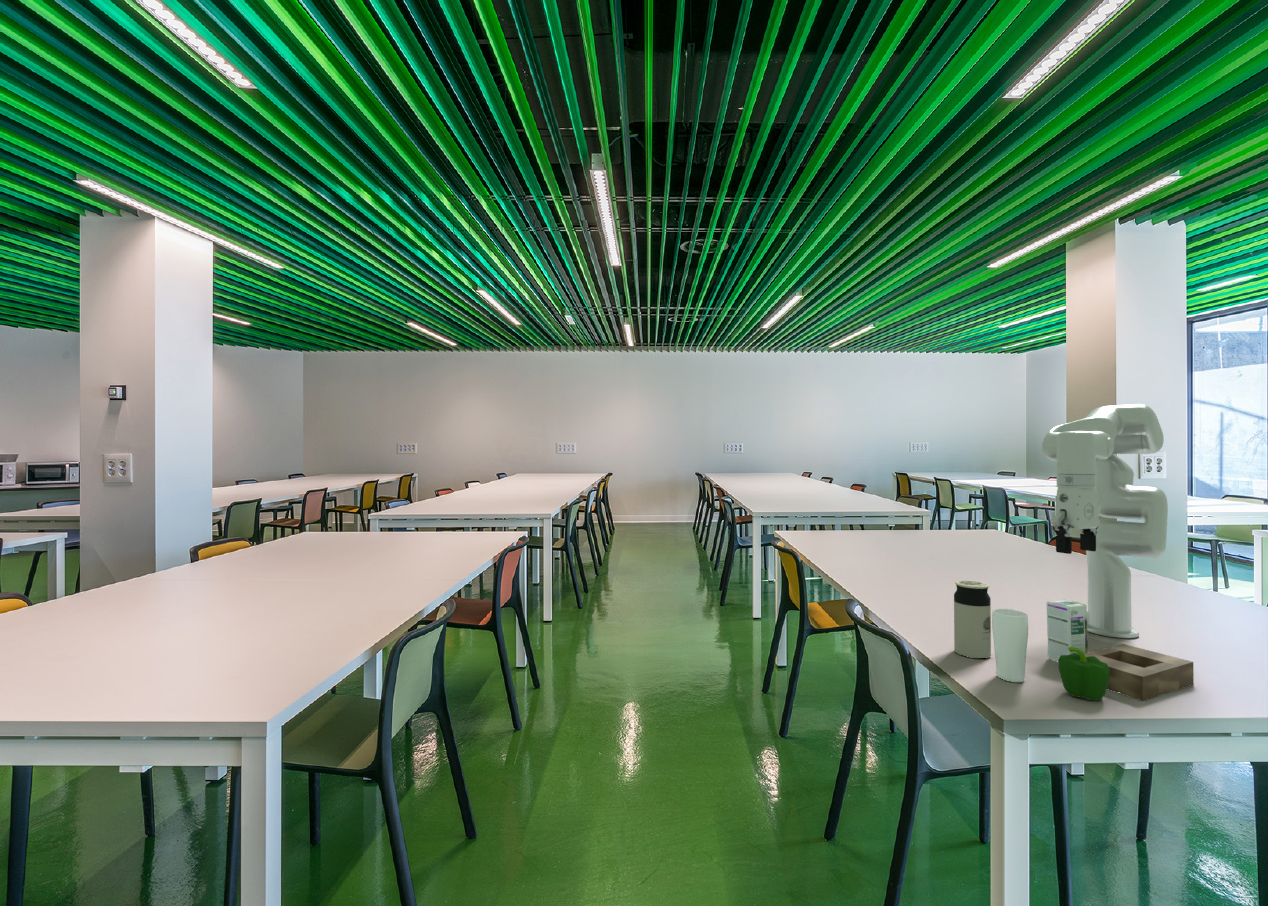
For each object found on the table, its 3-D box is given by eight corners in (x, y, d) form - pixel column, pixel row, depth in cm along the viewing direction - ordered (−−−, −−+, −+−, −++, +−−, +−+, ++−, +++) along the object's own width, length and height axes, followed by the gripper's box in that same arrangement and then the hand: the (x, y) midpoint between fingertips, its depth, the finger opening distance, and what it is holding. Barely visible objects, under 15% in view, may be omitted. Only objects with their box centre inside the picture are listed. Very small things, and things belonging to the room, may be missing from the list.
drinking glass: (994, 670, 131) (994, 606, 131) (1029, 677, 127) (1029, 611, 127) (990, 679, 126) (990, 613, 126) (1027, 687, 122) (1026, 618, 122)
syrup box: (1070, 667, 133) (1070, 606, 133) (1046, 658, 139) (1046, 600, 139) (1088, 665, 135) (1088, 604, 135) (1064, 656, 140) (1063, 598, 140)
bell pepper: (1110, 695, 118) (1110, 647, 118) (1109, 708, 112) (1108, 658, 112) (1060, 684, 123) (1060, 639, 124) (1056, 696, 117) (1056, 648, 117)
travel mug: (947, 651, 145) (946, 581, 145) (969, 647, 147) (968, 578, 147) (975, 661, 137) (975, 588, 137) (998, 657, 140) (997, 585, 140)
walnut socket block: (1072, 678, 127) (1072, 656, 127) (1122, 664, 135) (1122, 643, 135) (1143, 701, 115) (1142, 676, 115) (1193, 684, 123) (1193, 661, 123)
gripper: (1071, 482, 130) (1071, 556, 130) (1114, 481, 137) (1114, 552, 137) (1037, 481, 137) (1037, 551, 137) (1079, 480, 144) (1080, 547, 144)
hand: (1076, 551), depth 137 cm, fingers open, 9 cm apart
